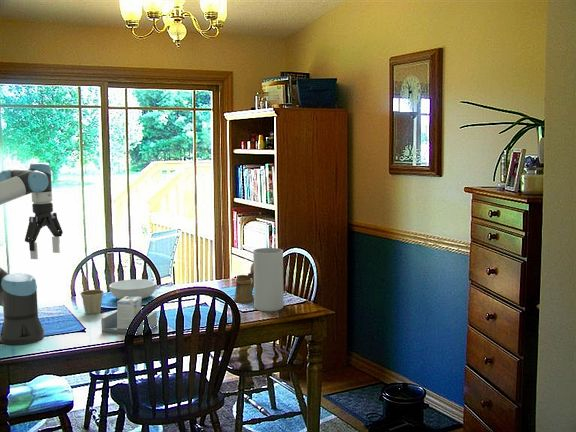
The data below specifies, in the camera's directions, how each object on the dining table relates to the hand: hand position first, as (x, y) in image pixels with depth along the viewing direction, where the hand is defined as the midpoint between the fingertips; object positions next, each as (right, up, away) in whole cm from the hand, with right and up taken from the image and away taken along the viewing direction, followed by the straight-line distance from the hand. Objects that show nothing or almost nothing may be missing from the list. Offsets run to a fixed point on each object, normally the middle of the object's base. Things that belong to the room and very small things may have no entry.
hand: (45, 255), depth 264 cm
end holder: (+35, -28, -8) cm, 46 cm away
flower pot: (+14, -25, +16) cm, 33 cm away
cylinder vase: (+88, -24, +21) cm, 93 cm away
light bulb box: (+35, -27, -9) cm, 45 cm away
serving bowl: (+26, -22, +39) cm, 52 cm away
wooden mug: (+78, -22, +35) cm, 88 cm away
